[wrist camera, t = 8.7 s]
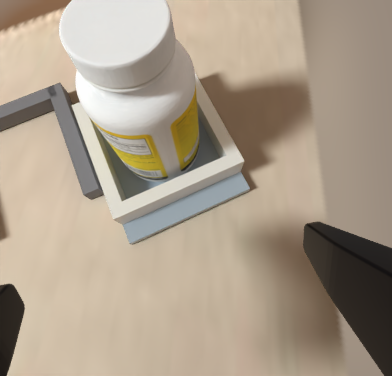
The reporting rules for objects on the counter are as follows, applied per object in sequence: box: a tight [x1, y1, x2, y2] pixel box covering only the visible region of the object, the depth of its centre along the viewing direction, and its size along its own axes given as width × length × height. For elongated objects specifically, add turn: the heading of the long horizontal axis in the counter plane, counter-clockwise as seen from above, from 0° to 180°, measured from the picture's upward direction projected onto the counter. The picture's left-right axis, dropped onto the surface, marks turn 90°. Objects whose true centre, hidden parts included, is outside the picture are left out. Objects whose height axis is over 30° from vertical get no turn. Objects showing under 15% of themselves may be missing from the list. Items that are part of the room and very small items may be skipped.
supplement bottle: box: [59, 0, 200, 182], centre depth 14 cm, size 5×5×10 cm
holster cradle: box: [0, 83, 104, 200], centre depth 19 cm, size 9×9×1 cm
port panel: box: [72, 73, 250, 245], centre depth 18 cm, size 11×8×2 cm
